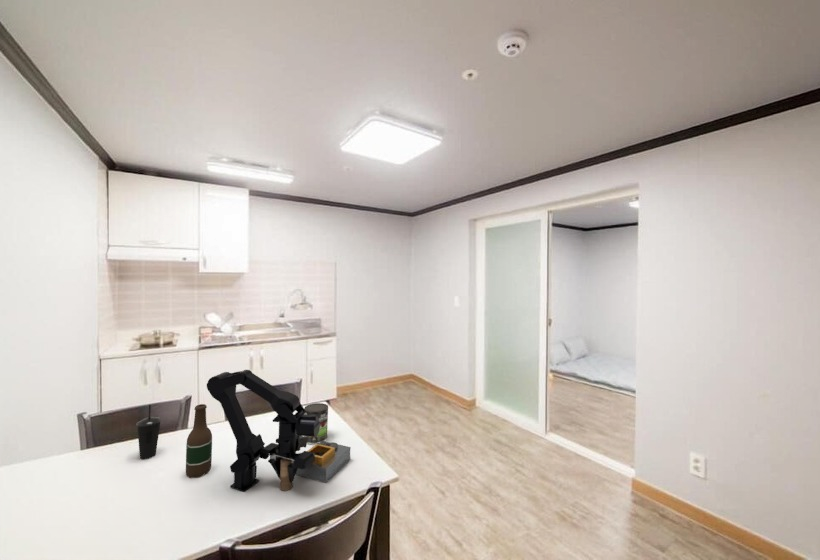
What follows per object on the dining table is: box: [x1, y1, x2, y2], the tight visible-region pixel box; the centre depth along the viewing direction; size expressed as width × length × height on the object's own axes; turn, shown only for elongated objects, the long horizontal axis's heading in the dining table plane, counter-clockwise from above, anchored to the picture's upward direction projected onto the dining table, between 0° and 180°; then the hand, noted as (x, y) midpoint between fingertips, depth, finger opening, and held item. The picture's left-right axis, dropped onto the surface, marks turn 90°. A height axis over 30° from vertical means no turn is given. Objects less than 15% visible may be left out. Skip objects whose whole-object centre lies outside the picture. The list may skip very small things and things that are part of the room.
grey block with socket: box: [295, 441, 351, 484], centre depth 121 cm, size 16×13×8 cm
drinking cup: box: [135, 404, 162, 460], centre depth 126 cm, size 8×8×20 cm
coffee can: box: [303, 402, 329, 445], centre depth 143 cm, size 10×10×14 cm
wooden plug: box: [279, 458, 294, 491], centre depth 109 cm, size 4×4×9 cm
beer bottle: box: [185, 403, 213, 479], centre depth 116 cm, size 8×8×24 cm
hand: (286, 480), depth 109 cm, fingers closed on wooden plug, 4 cm apart
